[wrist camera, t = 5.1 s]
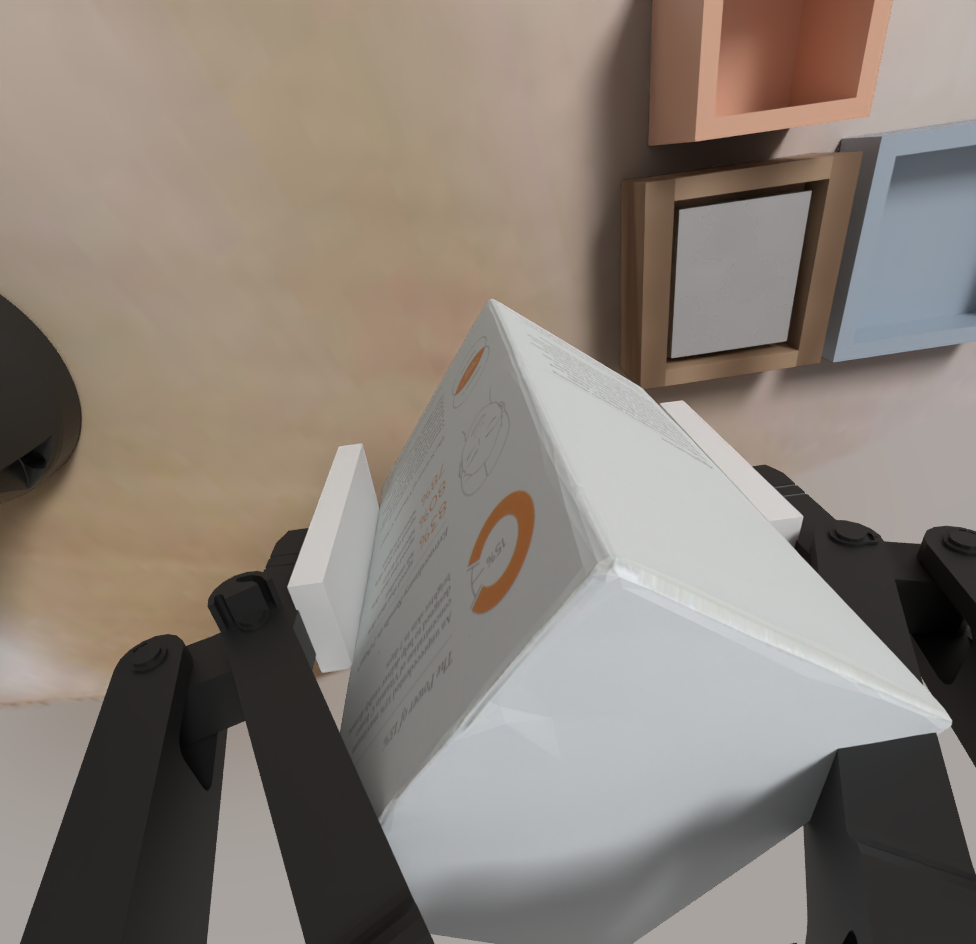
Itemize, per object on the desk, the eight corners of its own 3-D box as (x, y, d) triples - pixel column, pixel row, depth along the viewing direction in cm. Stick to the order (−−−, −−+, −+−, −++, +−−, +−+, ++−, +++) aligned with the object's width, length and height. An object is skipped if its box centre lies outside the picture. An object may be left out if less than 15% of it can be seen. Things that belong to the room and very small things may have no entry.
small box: (522, 549, 22) (612, 970, 10) (378, 487, 20) (293, 922, 8) (647, 384, 18) (977, 729, 7) (490, 289, 16) (598, 559, 5)
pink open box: (648, 146, 29) (695, 141, 24) (653, -53, 25) (711, -110, 20) (792, 125, 29) (869, 116, 24) (820, -76, 25) (921, -139, 20)
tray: (803, 347, 36) (833, 362, 33) (841, 138, 30) (882, 136, 27) (976, 321, 36) (1020, 334, 33) (1050, 108, 30) (1111, 103, 27)
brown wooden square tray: (620, 367, 35) (640, 389, 32) (621, 180, 30) (645, 182, 26) (782, 343, 35) (820, 363, 32) (813, 153, 30) (863, 151, 26)
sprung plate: (663, 352, 33) (671, 358, 32) (670, 208, 28) (679, 209, 27) (775, 335, 33) (786, 341, 32) (798, 189, 29) (811, 190, 28)
